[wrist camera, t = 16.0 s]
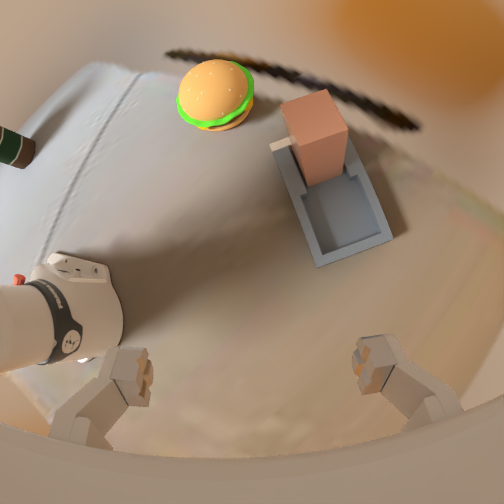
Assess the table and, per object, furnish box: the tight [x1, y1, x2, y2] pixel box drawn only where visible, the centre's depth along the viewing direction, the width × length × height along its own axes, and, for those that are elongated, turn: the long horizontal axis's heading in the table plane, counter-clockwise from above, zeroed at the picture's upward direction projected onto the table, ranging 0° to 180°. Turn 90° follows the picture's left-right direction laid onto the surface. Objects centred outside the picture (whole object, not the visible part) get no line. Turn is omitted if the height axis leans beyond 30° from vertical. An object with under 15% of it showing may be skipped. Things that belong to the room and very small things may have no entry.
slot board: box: [269, 135, 394, 268], centre depth 39 cm, size 17×10×3 cm, turn 19°
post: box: [280, 89, 349, 187], centre depth 34 cm, size 5×5×14 cm
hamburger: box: [176, 60, 254, 131], centre depth 41 cm, size 12×12×9 cm
